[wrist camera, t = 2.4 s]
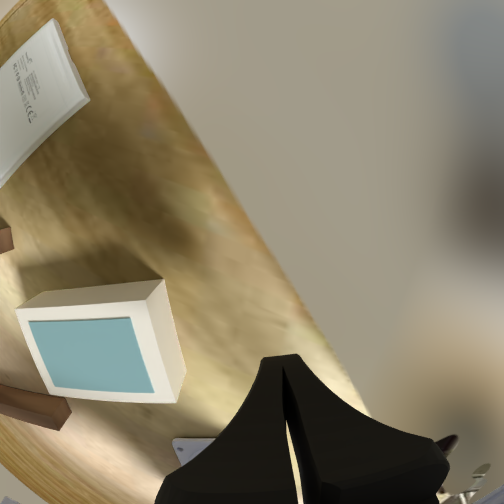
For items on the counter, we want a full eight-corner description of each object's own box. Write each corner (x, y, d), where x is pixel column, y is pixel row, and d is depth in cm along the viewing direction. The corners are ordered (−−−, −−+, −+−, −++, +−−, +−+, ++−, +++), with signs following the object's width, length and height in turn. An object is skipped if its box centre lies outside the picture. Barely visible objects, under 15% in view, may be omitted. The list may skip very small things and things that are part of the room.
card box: (187, 367, 18) (176, 404, 14) (72, 367, 18) (49, 395, 14) (165, 277, 16) (144, 300, 13) (45, 290, 16) (13, 309, 13)
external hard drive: (-38, 133, 14) (62, 24, 13) (-15, 214, 16) (95, 102, 14) (-51, 132, 12) (50, 15, 11) (-30, 217, 14) (82, 96, 13)
